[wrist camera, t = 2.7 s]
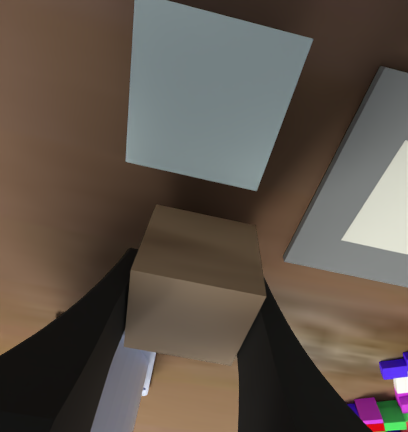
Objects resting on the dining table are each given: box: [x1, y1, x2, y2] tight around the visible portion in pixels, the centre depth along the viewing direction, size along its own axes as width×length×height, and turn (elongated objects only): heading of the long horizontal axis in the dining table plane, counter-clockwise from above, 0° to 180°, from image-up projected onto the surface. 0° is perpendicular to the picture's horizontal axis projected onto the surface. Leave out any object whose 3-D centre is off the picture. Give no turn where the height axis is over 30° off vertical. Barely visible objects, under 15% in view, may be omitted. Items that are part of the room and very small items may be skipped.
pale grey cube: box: [126, 0, 313, 191], centre depth 10 cm, size 4×4×4 cm
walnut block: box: [124, 204, 266, 366], centre depth 12 cm, size 4×4×4 cm
